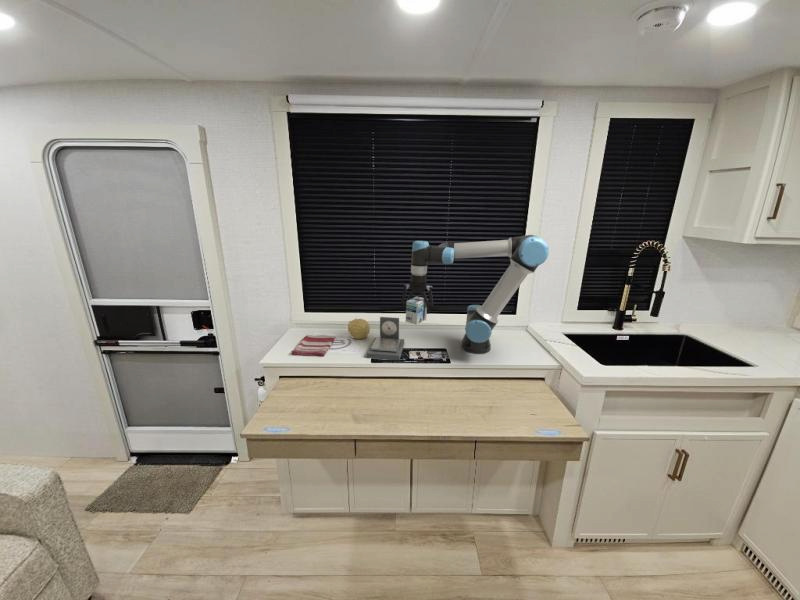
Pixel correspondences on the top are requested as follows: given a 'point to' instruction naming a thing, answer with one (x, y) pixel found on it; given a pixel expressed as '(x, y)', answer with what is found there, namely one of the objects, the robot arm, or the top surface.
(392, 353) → the scale base
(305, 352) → the dish towel
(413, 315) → the light bulb box
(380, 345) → the pan
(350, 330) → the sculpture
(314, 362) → the top surface
